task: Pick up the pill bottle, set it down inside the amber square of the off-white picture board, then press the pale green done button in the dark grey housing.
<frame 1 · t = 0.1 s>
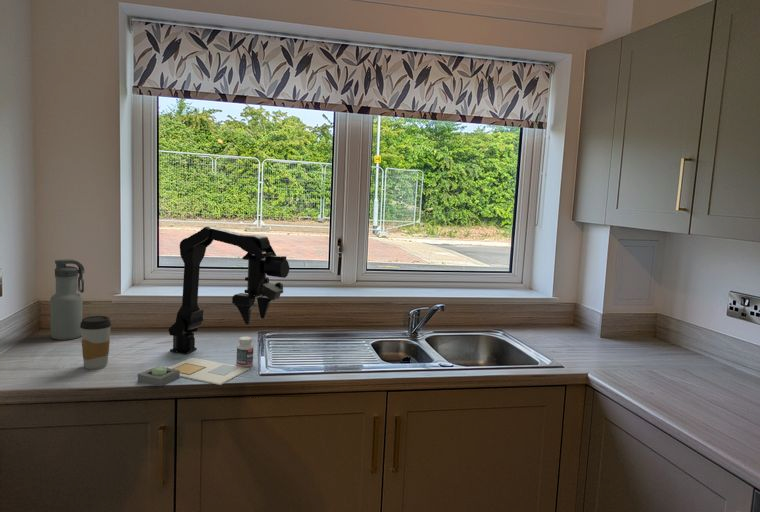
hand: (255, 321, 165), 14 cm above the worktop, fingers open, 9 cm apart
picture board: (205, 371, 157), on the worktop
pill bottle: (244, 365, 166), on the worktop
button housing: (159, 379, 148), on the worktop
coffee cup: (95, 366, 156), on the worktop
done button: (159, 372, 148), point 2 cm above the worktop, slide at 0.0 cm
water bottle: (67, 337, 183), on the worktop
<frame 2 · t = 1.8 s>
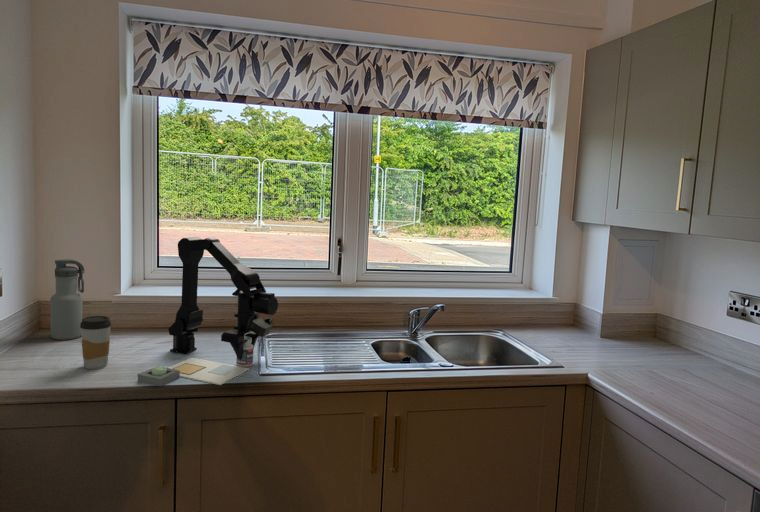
hand: (244, 356, 165), 3 cm above the worktop, fingers closed on pill bottle, 5 cm apart
pill bottle: (244, 365, 166), on the worktop, touching gripper
everything else where it was.
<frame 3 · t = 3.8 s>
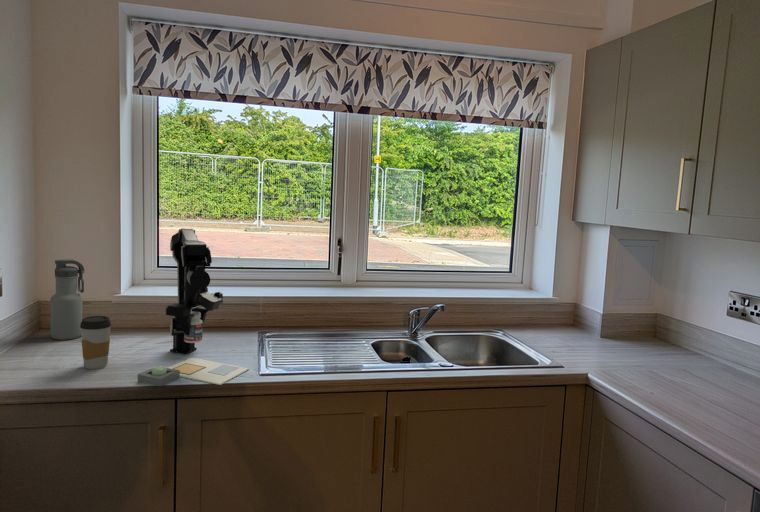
hand: (193, 332, 156), 12 cm above the worktop, fingers closed on pill bottle, 5 cm apart
pill bottle: (193, 341, 157), point 9 cm above the worktop, touching gripper
everything else where it was.
when the fingers open (4 cm above the worktop, at t = 5.8 s): pill bottle stays where it is, resting on picture board.
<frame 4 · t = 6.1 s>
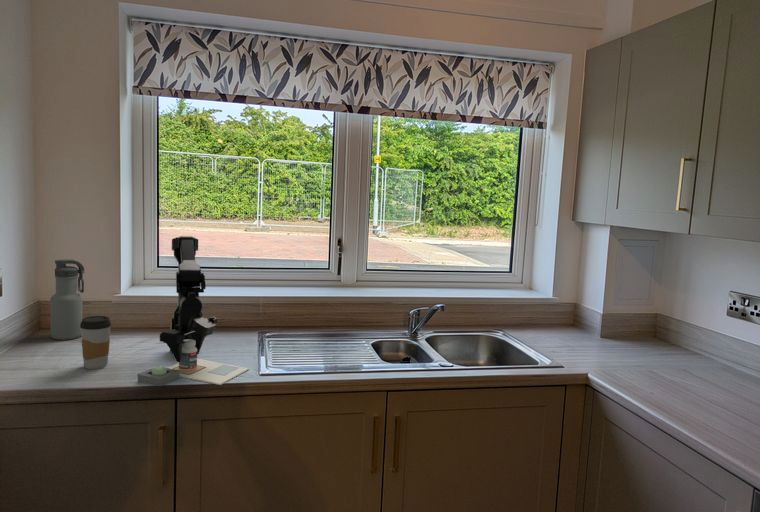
hand: (187, 357, 157), 4 cm above the worktop, fingers open, 8 cm apart
pill bottle: (187, 369, 157), resting on picture board
everything else where it was.
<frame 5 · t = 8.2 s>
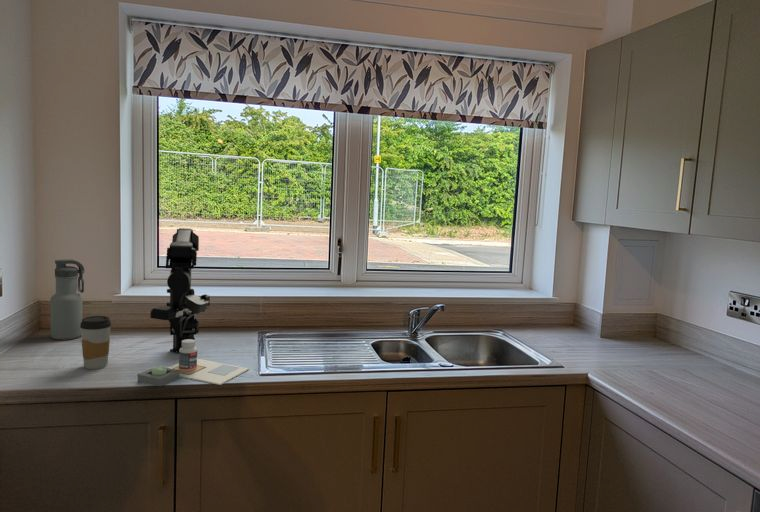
hand: (179, 336, 153), 12 cm above the worktop, fingers closed
nothing on the worktop moved.
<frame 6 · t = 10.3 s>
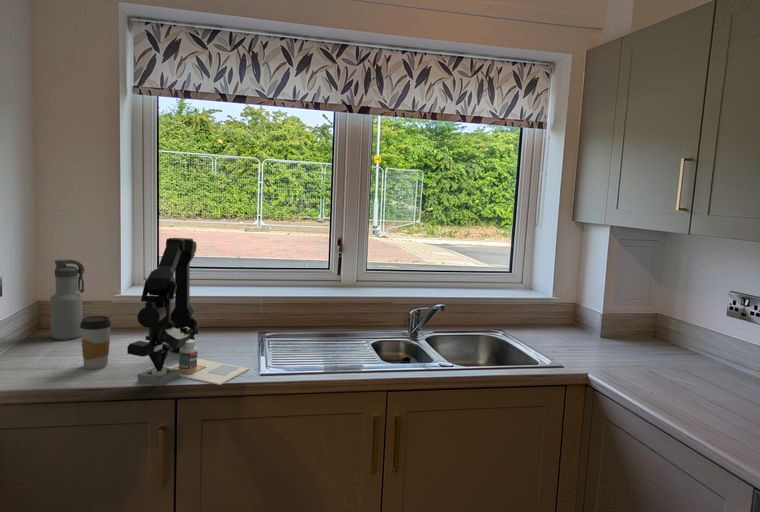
hand: (159, 370, 148), 3 cm above the worktop, fingers closed, pressing on done button
done button: (159, 374, 148), point 2 cm above the worktop, slide at 0.6 cm, touching gripper
everything else where it was.
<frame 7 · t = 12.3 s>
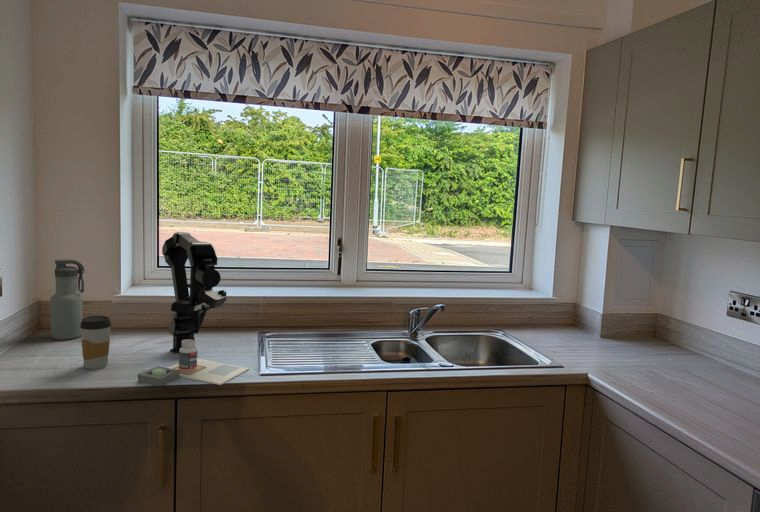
hand: (198, 328, 163), 11 cm above the worktop, fingers closed
done button: (159, 374, 148), point 1 cm above the worktop, slide at 0.6 cm
everything else where it was.
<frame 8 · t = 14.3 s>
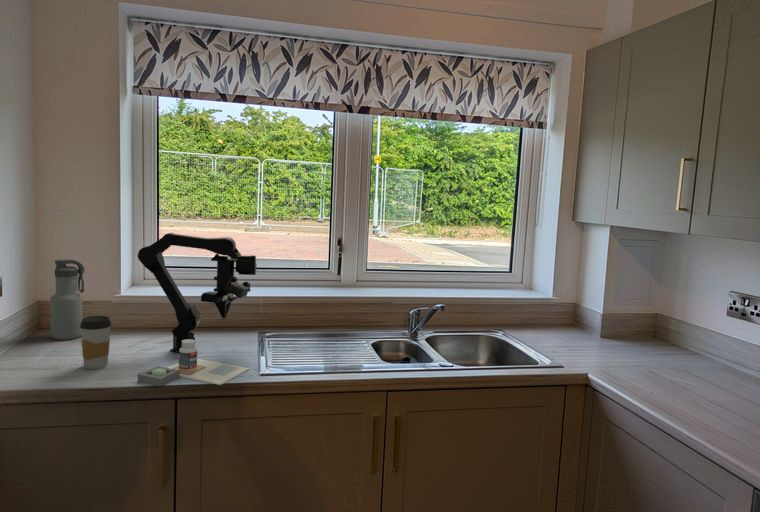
hand: (224, 318, 176), 12 cm above the worktop, fingers closed
nothing on the worktop moved.
at the end: pill bottle inside the target area on the picture board (0.1 cm from its centre), point 0.3 cm above the picture board's base; pill bottle tilted 0°; done button slide at 0.6 cm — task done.
